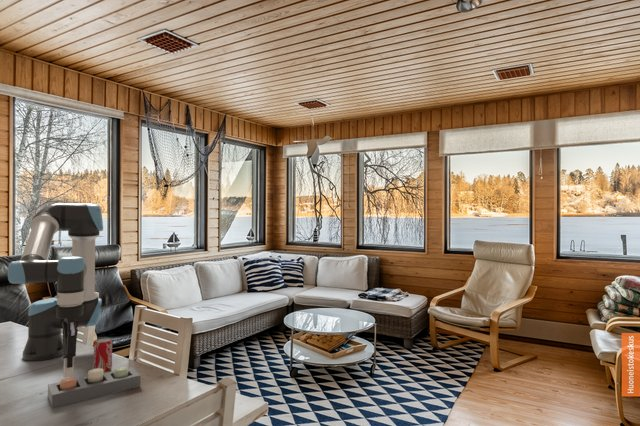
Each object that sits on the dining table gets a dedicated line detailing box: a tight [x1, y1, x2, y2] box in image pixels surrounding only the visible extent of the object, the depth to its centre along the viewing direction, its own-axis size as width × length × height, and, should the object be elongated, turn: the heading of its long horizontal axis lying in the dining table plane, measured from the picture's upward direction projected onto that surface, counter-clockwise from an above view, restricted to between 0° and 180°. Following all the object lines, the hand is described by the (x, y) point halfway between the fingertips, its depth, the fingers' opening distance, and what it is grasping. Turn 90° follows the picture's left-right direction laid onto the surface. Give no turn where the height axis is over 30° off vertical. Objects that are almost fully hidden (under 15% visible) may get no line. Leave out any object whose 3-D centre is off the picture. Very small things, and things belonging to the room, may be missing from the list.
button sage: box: [113, 366, 129, 379], centre depth 144 cm, size 5×5×3 cm
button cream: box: [87, 368, 104, 383], centre depth 139 cm, size 5×5×3 cm
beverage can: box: [92, 337, 113, 373], centre depth 157 cm, size 6×6×12 cm
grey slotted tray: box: [47, 366, 141, 409], centre depth 139 cm, size 10×26×4 cm, turn 130°
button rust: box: [59, 377, 77, 391], centre depth 134 cm, size 5×5×3 cm
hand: (68, 376), depth 134 cm, fingers closed
